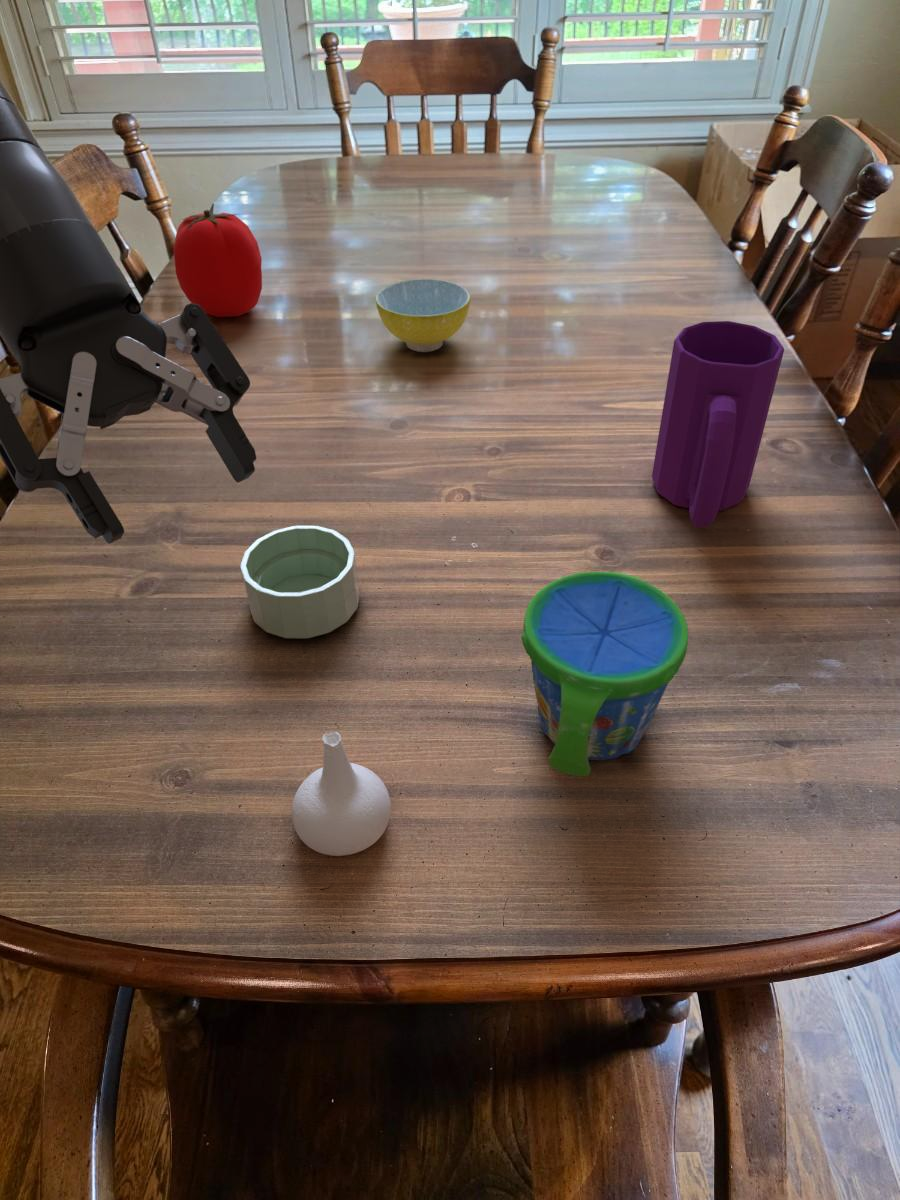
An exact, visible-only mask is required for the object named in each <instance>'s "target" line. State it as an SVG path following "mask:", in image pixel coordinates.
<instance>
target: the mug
mask: <svg viewBox="0 0 900 1200" xmlns="http://www.w3.org/2000/svg"><path fill="white" fill-rule="evenodd" d="M784 352H785V347H784V346H783V344H782V343H781V341H780V340H779V338H778V337H777V336H776V335H775V334H773V333H771V332H769V331H766V330H764V329H762V328H761V327H758V326H756V325H753V324H747V323H741V322H735V321H731V320H721V321H718V320H717V321H701V322H698V323H695V324H691V325H689V326H687V327H683V328H682V329H681V331H680V332H679V334H678V335H677V336H676V337H675V339H674V340H673V346H672V352H671V358H670V363H669V370H668V376H667V382H666V388H665V394H664V398H663V399H664V400H663V406H662V412H661V418H660V423H659V430H658V436H657V443H656V448H655V454H654V460H653V466H652V473H651V479H652V482H653V485H654V487H655V489H656V493H657V494H659V495H660V496H661V497H663V498H664V499H666V500H667V501H669V502H670V503H671V504H672V505H674V506H677V507H680V508H685V509H689V510H688V512H689V519H690V522H691V524H692V525H693V526H694V527H697V528H700V529H701V528H707V527H709V526H710V525H711V524H713V522H714V520H715V519H716V517H717V515H718V512H719V511H724V510H727V509H729V508H731V507H734V506H736V505H738V504H740V503H742V502H743V500H744V498H745V495H746V493H747V492H748V489H749V487H750V485H751V480H752V477H753V473H754V469H755V466H756V461H757V458H758V453H759V450H760V445H761V441H762V438H763V434H764V430H765V427H766V422H767V419H768V414H769V410H770V406H771V403H772V399H773V395H774V391H775V387H776V384H777V380H778V376H779V372H780V368H781V364H782V360H783V356H784Z"/></svg>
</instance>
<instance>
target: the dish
mask: <svg viewBox="0 0 900 1200" xmlns="http://www.w3.org/2000/svg"><path fill="white" fill-rule="evenodd" d="M356 559H357V558H356V553H355V550H354V547H353V546H352V544H351V541H350V540H349V539H348V538H347V537H346V536H344V535H342V534H341V533H340V532H338V531H337V530H335V529H332V528H327V527H324V526H320V525H315V524H314V525H307V524H305V525H301V524H300V525H299V524H298V525H291V526H288V527H283V528H279V529H275V530H273V531H271V532H268V533H267V534H265V535H263V536H261V537H259V538H257V539H256V540H254V541H253V543H252V544H250V546H249V547H248V548H246V550H245V551H244V553H243V555H242V558H241V562H240V565H239V570H240V574H241V577H242V582H243V587H244V591H245V595H246V599H247V603H248V608H249V611H250V614H251V617H252V621H253V622H254V624H256V625H257V626H259V627H260V628H261V629H262V630H263V631H264V632H266V633H268V634H271V635H273V636H277V637H281V638H284V639H310V638H314V637H318V636H321V635H325V634H329V633H331V632H333V631H334V630H336V629H338V628H339V627H341V626H342V625H344V624H346V623H347V622H349V620H350V618H351V617H352V616H353V614H354V613H355V612H356V611H357V609H358V608H359V607H358V606H359V600H360V595H361V593H360V586H359V576H358V568H357V560H356Z"/></svg>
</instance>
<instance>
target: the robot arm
mask: <svg viewBox="0 0 900 1200" xmlns="http://www.w3.org/2000/svg"><path fill="white" fill-rule="evenodd" d="M67 182H68V181H66V180H65V178H64V177H63V176H62V175H61V173H60V172H59V171H58V169H57V168H56V167H55V166H54V165H53V163H52V162H51V160H50V159H49V157H48V156H47V154H46V152H45V151H44V149H43V147H42V146H41V144H40V142H39V141H38V139H37V137H36V136H35V134H34V133H33V130H32V129H31V127H30V126H29V124H28V122H27V121H26V119H25V117H24V116H23V114H22V112H21V111H20V109H19V108H18V106H17V104H16V102H15V101H14V99H13V97H12V95H11V94H10V93H9V91H8V90H7V88H6V86H5V84H3V82H2V81H1V80H0V337H1V339H2V340H3V342H4V343H5V345H6V346H7V348H8V350H9V352H10V353H11V355H12V356H13V358H14V359H15V361H16V363H17V366H18V369H19V372H17V373H13V374H10V375H6V376H3V377H0V458H1V461H2V462H3V464H4V466H5V468H6V470H7V471H8V474H9V475H10V477H11V480H12V481H13V483H14V484H15V486H16V488H17V489H18V490H20V491H22V492H25V493H30V492H31V493H32V492H34V491H36V490H38V489H55V490H57V491H58V492H60V493H62V495H63V496H64V498H65V499H66V501H67V503H68V504H69V506H70V507H71V508H72V510H73V512H74V513H75V515H76V517H77V518H78V520H79V522H80V523H81V524H82V526H83V529H84V530H85V531H86V533H87V534H89V535H90V536H91V537H92V538H94V539H98V538H99V537H102V538H103V539H104V541H105V542H106V543H107V544H108V545H110V544H112V543H114V542H116V541H118V540H121V539H122V537H123V536H124V534H125V529H124V526H123V524H122V522H121V520H119V518H118V516H117V514H116V513H115V511H114V509H113V508H112V506H111V505H110V503H109V500H108V499H107V498H106V497H105V494H104V493H103V491H102V490H101V488H100V487H99V485H98V483H97V482H96V480H95V478H94V477H93V475H92V473H91V472H90V471H89V470H88V471H86V472H84V471H83V469H82V461H83V454H84V447H85V441H86V434H87V430H88V427H93V428H100V430H103V429H106V428H109V427H111V426H113V425H115V424H116V423H117V422H119V421H120V420H122V419H123V418H124V417H129V416H138V415H140V414H143V413H145V412H148V411H150V410H151V408H152V406H153V405H154V404H157V405H159V406H161V407H163V408H165V409H167V410H169V411H171V412H174V413H178V412H179V413H182V414H185V415H187V416H189V417H190V418H193V419H195V420H197V421H198V422H200V423H203V424H204V425H206V426H207V427H206V430H205V434H206V435H207V437H208V438H209V441H210V442H211V444H212V445H213V448H215V450H216V452H217V454H218V455H219V457H220V459H221V460H222V462H223V463H224V465H225V467H226V469H227V470H228V472H229V473H230V475H231V477H232V479H233V480H234V481H235V482H236V483H241V482H243V481H245V480H247V479H249V478H250V477H251V476H252V475H253V474H254V472H255V471H256V468H255V464H254V462H255V461H256V460H257V453H256V450H255V448H254V447H253V444H252V443H251V442H250V439H249V438H248V437H247V435H246V432H245V431H244V430H243V428H242V426H241V425H240V423H239V421H238V419H237V418H236V416H235V414H234V408H235V406H237V405H238V404H239V403H240V401H241V399H242V397H243V396H245V393H246V392H247V391H248V390H249V388H250V386H251V381H250V378H249V376H248V375H247V374H246V371H245V370H244V369H243V368H242V366H241V365H240V363H239V362H238V360H237V358H236V357H235V356H234V354H233V352H232V351H231V349H230V348H229V346H228V345H227V344H226V342H225V340H224V339H223V338H222V336H221V333H219V331H218V330H217V328H216V327H215V324H213V322H212V320H211V319H210V318H209V316H208V314H207V313H205V312H204V310H203V309H202V308H201V307H200V306H199V305H197V304H194V303H191V302H190V303H187V304H186V305H185V306H184V308H183V310H182V311H181V313H180V314H178V315H176V316H172V317H171V318H168V319H166V320H163V321H162V322H159V323H158V322H157V321H155V320H154V319H152V318H151V317H150V316H149V315H148V314H147V313H145V312H144V310H143V308H142V307H141V305H140V303H139V301H138V299H137V297H136V295H135V293H134V291H133V289H132V288H131V286H130V284H129V283H128V281H127V280H126V277H125V276H124V274H123V272H122V271H121V269H120V267H119V266H118V264H117V263H116V261H115V259H114V257H113V256H112V254H111V253H110V251H109V249H108V247H107V246H106V244H105V242H104V241H103V239H102V237H101V236H100V233H98V230H97V229H96V228H95V226H94V224H93V223H92V221H91V219H90V218H89V215H88V214H87V213H86V211H85V209H84V207H83V206H82V204H81V203H80V201H79V199H78V198H77V196H76V194H75V193H74V191H73V190H72V188H71V186H70V185H69V183H67ZM167 344H171V345H173V346H175V347H176V348H177V349H178V350H179V351H180V353H182V354H190V356H191V357H192V360H194V362H195V363H196V365H197V366H198V368H199V369H200V371H201V373H202V374H203V375H204V377H205V378H206V379H207V381H208V383H209V384H210V385H209V384H208V383H207V384H206V383H205V382H203V381H201V380H199V379H198V378H197V375H196V374H195V373H194V372H192V371H190V370H189V369H187V368H186V367H183V366H181V365H180V364H177V363H176V362H174V361H172V360H170V359H168V358H166V355H167V354H166V353H167ZM25 395H27V396H28V397H29V398H30V399H33V400H34V401H36V402H38V403H41V405H45V406H47V407H48V408H50V409H52V410H54V411H57V412H59V413H60V414H61V418H60V426H59V432H58V438H57V445H56V453H55V457H48V458H39V457H38V456H37V453H36V451H35V450H34V448H33V446H32V444H31V443H30V441H29V439H28V437H27V435H26V433H25V431H24V430H23V428H22V426H21V424H20V422H19V420H18V419H19V418H20V417H21V415H22V411H23V402H22V398H23V397H24V396H25Z"/></svg>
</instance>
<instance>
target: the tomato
mask: <svg viewBox="0 0 900 1200" xmlns="http://www.w3.org/2000/svg"><path fill="white" fill-rule="evenodd" d="M214 207H215V203H212V204H211V205H210V208H209V209H205V210H203V212H202V213H198V214H191V215H190V216H188V217H185V218H182V219H181V223H180V224H179V225H178V227H177V231H176V235H175V238H174V240H175V241H174V245H173V257H174V268H175V276H176V278H177V281H178V284H179V287H180V289H181V291H182V292H183V294H184V295H185V297H186V299H187V300H188V302H190V303H194V304H197V305H199V306H200V307H201V308H202V309H203V310H204V312H205V313H206V315H210V316H213V317H216V318H231V317H240V316H242V315H245V314H247V313H249V312H251V311H252V310H253V309H254V308H255V307H256V306H257V304H258V303H259V300H260V296H261V292H262V289H263V271H262V260H263V259H262V256H261V251H260V247H259V243H258V241H257V239H256V238H255V236H254V234H253V233H252V231H251V229H250V227H249V226H248V225H247V224H246V222H244V221H243V220H241V219H240V218H239V217H238V216H237V215H239V213H235V214H234V213H228V212H221V213H216V214H215V213H214Z"/></svg>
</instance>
